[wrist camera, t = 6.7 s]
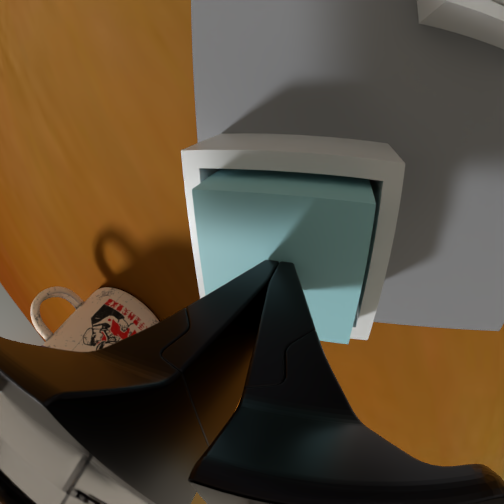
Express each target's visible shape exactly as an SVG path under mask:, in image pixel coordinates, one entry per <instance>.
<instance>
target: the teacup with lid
mask: <svg viewBox="0 0 504 504" xmlns="http://www.w3.org/2000/svg"><path fill="white" fill-rule="evenodd" d="M51 297H61V298H64V299H66V300H67V301H69V302H70V303H71V304H72V305H73V306H74V307H75V308H76V309H77V310H76V311H75V312H74V313H73V314H72V315H71V316H70V317H69V318H68V319H67V320H66V321H65V322H64V323H63V324H62V325H61V326H60V327H59V329H58V330H57V331H56V332H55V333H54V334H53V333H52V332H51V331H50V330H49V329H48V328H47V326H46V325H45V324H44V323H43V321H42V319H41V316H40V311H39V310H40V304H41V302H43V301H44V300H46V299H48V298H51ZM31 319H32V322H33V324H34V326H35V328H36V329H37V331H38V332H39V333H40V335H41V336H42V337H43V338H44V339H45V340H46V343H45V344H44V345H43V346H42V347H49V348H55V349H62V350H69V351H76V352H90V351H96V350H99V349H102V348H105V347H107V346H109V345H112V344H114V343H116V342H118V341H120V340H123V339H125V338H127V337H129V336H131V335H134V334H136V333H138V332H140V331H142V330H144V329H146V328H148V327H150V326H153V325H155V324H157V323H159V320H158V319H157V318H156V316H155V315H154V314H153V313H152V312H151V311H150V310H149V309H148V308H147V307H146V306H145V305H144V304H143V303H142V302H140V301H139V300H138V299H136V298H135V297H133V296H132V295H130V294H128V293H126V292H124V291H122V290H119V289H116V288H110V287H105V288H100V289H98V290H96V291H95V292H94V293H93V294H92V295H91V296H90V297H89V298H88V299H87V300H86V301H85V302H84V301H83V300H82V299H81V298H80V297H79V296H78V295H77V294H76V293H74V292H73V291H71V290H70V289H68V288H64V287H51V288H48V289H45V290H43V291H42V292H40V293H39V294H38V295H37V296H36V297H35V299H34V300H33V302H32V305H31Z"/></svg>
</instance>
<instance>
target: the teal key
mask: <svg viewBox="0 0 504 504" xmlns="http://www.w3.org/2000/svg"><path fill="white" fill-rule="evenodd" d="M192 196H193V205H194V214H195V222H196V230H197V238H198V246H199V254H200V261H201V268H202V276H203V282H204V289H205V296H206V295H207V294H209V293H211V292H212V291H214V290H216V289H217V288H219V287H221V286H222V285H224V284H226V283H227V282H229V281H231V280H233V279H234V278H236V277H238V276H239V275H241V274H243V273H244V272H246V271H248V270H249V269H251V268H253V267H254V266H256V265H258V264H259V263H261V262H262V261H264V260H274V261H278V262H279V263H280V262H282V261H283V262H291V263H294V265H295V268H296V271H297V274H298V277H299V280H300V283H301V286H302V289H303V292H304V295H305V298H306V301H307V304H308V307H309V310H310V313H311V316H312V319H313V323H314V326H315V329H316V332H317V335H318V338H319V341H327V342H335V343H343V344H348V343H349V339H350V335H351V331H352V327H353V323H354V319H355V315H356V311H357V307H358V302H359V298H360V293H361V288H362V284H363V279H364V274H365V269H366V264H367V258H368V253H369V247H370V241H371V235H372V229H373V222H374V216H375V208H376V202H375V198H374V195H373V191H372V187H371V184H370V180H369V179H364V178H355V177H346V176H336V175H325V174H314V173H301V172H287V171H270V170H250V169H220V170H218V171H217V172H215V173H214V174H213V175H211V176H210V177H208V178H207V179H206V180H204V181H203V182H201V183H200V184H199V185H197V186H196V187H194V188H193V189H192Z"/></svg>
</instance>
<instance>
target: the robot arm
mask: <svg viewBox="0 0 504 504" xmlns="http://www.w3.org/2000/svg"><path fill="white" fill-rule="evenodd" d="M241 396H242V397H241ZM240 398H241V400H240ZM239 400H240V403H239V405H238V402H239ZM237 405H238V407H237ZM236 407H237V409H236ZM235 409H236V411H235ZM234 411H235V412H234ZM196 492H198V494H199V495H200V496H201V497H202V498H203V499H204V501H205V502H206V503H207V504H504V481H503V480H502V478H501V477H500V476H499V475H497V474H496V473H495V472H494V471H492V470H491V469H490V468H488V467H487V466H485V465H482V464H468V465H460V466H436V465H430V464H427V463H424V462H421V461H419V460H417V459H415V458H413V457H412V456H410V455H409V454H407V453H405V452H404V451H402V450H401V449H399V448H398V447H396V446H394V445H393V444H391V443H390V442H388V441H387V440H385V439H384V438H382V437H381V436H379V435H378V434H376V433H375V432H373V431H372V430H370V429H369V428H367V427H366V426H365V425H364V424H363V423H362V422H361V421H360V420H359V419H358V418H357V416H356V415H355V413H354V412H353V410H352V408H351V406H350V404H349V402H348V400H347V399H346V397H345V395H344V393H343V391H342V389H341V387H340V385H339V383H338V381H337V379H336V377H335V375H334V373H333V371H332V369H331V367H330V365H329V363H328V361H327V359H326V357H325V354H324V352H323V349H322V346H321V344H320V341H319V338H318V335H317V332H316V329H315V326H314V323H313V319H312V316H311V313H310V310H309V307H308V304H307V301H306V298H305V295H304V292H303V289H302V286H301V283H300V280H299V277H298V274H297V271H296V268H295V265H294V263H291V262H283V261H282V262H280V263H279V262H278V261H274V260H264V261H262V262H261V263H259V264H258V265H256V266H254V267H253V268H251V269H249V270H248V271H246V272H244V273H243V274H241V275H239V276H238V277H236V278H234V279H233V280H231V281H229V282H227V283H226V284H224V285H222V286H221V287H219V288H217V289H216V290H214V291H212V292H211V293H209V294H207V295H206V296H204V297H202V298H201V299H199V300H197V301H196V302H194V303H192V304H190V305H189V306H187V307H186V308H183V309H182V310H180V311H178V312H177V313H175V314H173V315H171V316H170V317H168V318H166V319H164V320H162V321H161V322H159V323H157V324H155V325H153V326H150V327H148V328H146V329H144V330H142V331H140V332H138V333H136V334H134V335H131V336H129V337H127V338H125V339H123V340H120V341H118V342H116V343H114V344H112V345H109V346H107V347H105V348H102V349H99V350H96V351H90V352H76V351H69V350H62V349H55V348H49V347H42V346H36V345H31V344H25V343H20V342H16V341H11V340H8V339H5V338H2V337H0V504H191V502H192V500H193V497H194V496H195V494H196Z"/></svg>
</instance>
